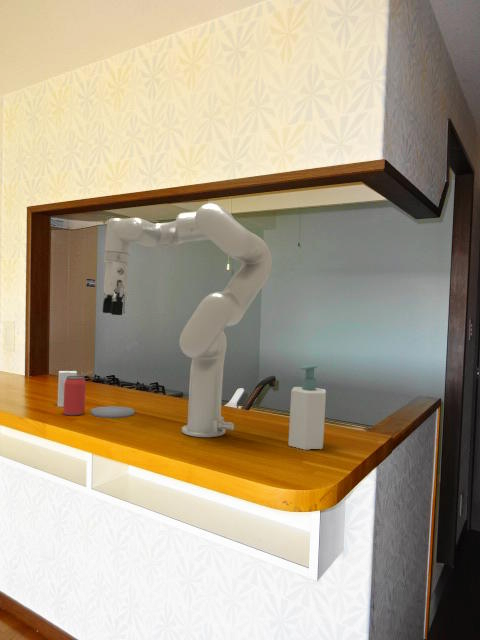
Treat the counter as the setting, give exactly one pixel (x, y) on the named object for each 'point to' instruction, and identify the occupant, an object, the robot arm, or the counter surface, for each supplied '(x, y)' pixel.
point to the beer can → (74, 395)
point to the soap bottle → (307, 413)
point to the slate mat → (112, 412)
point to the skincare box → (61, 383)
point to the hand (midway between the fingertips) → (112, 313)
